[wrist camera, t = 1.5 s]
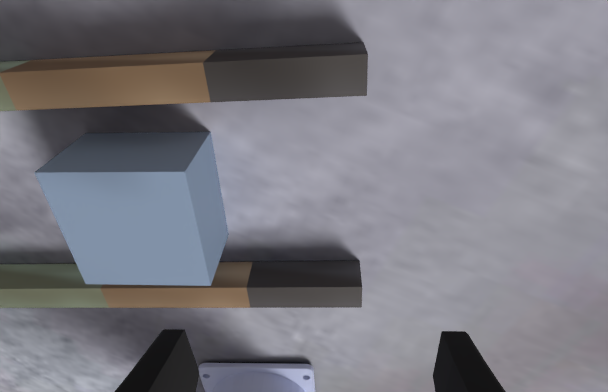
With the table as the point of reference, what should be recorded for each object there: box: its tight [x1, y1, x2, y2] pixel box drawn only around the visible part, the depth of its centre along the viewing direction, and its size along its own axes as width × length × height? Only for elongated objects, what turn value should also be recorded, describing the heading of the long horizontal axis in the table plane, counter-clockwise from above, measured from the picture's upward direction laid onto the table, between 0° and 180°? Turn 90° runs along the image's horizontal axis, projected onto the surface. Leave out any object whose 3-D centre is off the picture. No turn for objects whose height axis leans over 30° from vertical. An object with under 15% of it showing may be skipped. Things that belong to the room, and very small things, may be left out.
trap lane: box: [0, 42, 368, 308], centre depth 19 cm, size 13×28×2 cm, turn 94°
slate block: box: [35, 132, 229, 286], centre depth 18 cm, size 6×6×4 cm
